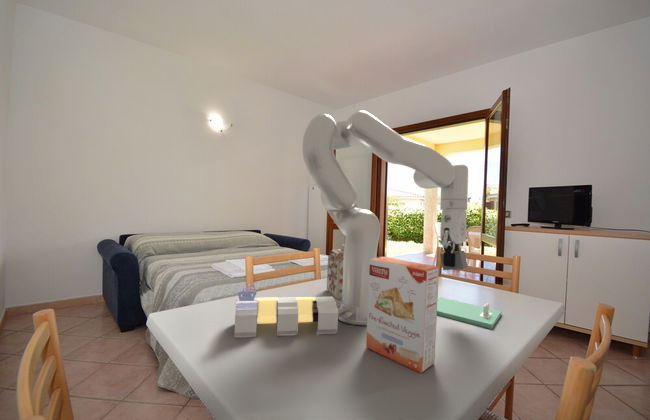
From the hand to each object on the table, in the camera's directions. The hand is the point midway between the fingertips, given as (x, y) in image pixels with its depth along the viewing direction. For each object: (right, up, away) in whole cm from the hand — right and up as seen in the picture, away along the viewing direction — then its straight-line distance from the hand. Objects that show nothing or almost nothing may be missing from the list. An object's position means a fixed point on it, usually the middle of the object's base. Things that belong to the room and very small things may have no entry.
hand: (451, 264), depth 93 cm
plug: (+1, -1, -1) cm, 2 cm away
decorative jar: (-31, -14, +19) cm, 39 cm away
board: (+5, -16, +3) cm, 17 cm away
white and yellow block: (-49, -15, -14) cm, 53 cm away
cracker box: (-23, -16, -26) cm, 38 cm away
